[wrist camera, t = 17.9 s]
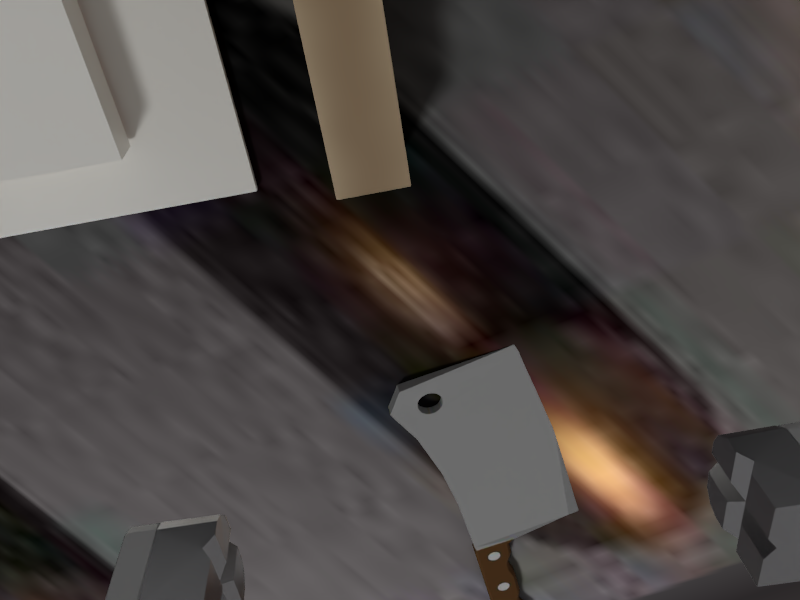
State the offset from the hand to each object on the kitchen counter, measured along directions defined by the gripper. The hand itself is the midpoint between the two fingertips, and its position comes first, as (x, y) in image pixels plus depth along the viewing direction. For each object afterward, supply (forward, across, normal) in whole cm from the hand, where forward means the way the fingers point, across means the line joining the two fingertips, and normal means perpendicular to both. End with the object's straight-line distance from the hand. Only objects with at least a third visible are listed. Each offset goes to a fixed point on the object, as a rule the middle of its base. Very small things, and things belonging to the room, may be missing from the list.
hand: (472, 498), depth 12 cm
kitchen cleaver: (+22, -4, +26) cm, 35 cm away
